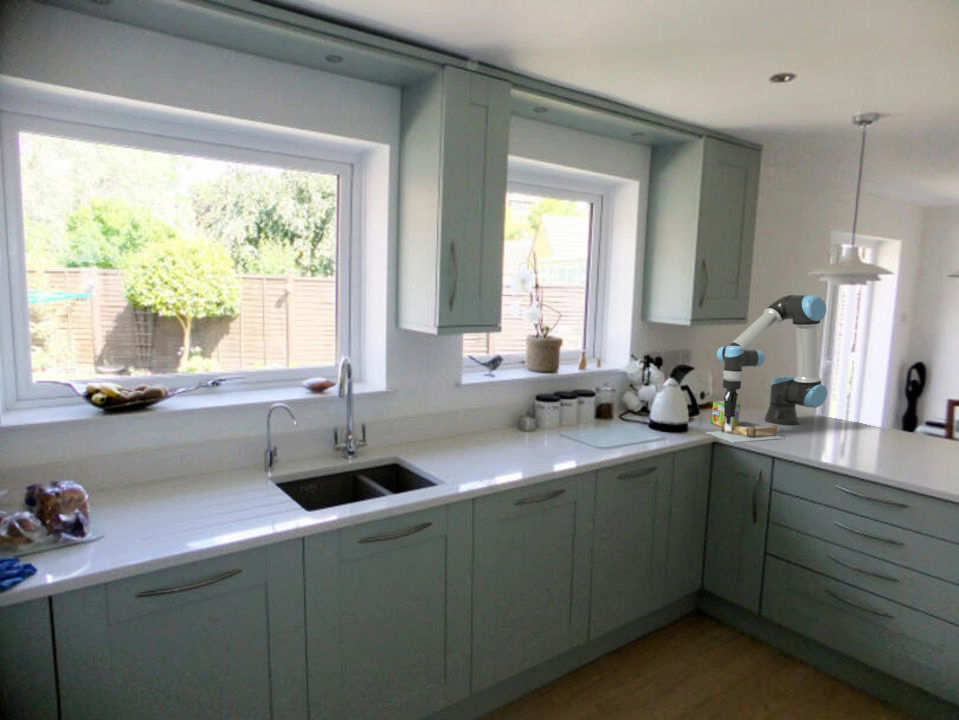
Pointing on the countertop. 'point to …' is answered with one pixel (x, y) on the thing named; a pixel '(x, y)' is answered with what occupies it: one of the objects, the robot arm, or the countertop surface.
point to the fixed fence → (762, 431)
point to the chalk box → (719, 413)
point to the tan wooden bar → (735, 429)
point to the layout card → (742, 437)
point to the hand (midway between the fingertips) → (728, 430)
